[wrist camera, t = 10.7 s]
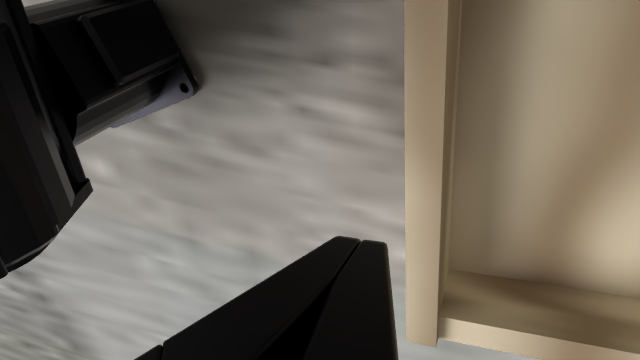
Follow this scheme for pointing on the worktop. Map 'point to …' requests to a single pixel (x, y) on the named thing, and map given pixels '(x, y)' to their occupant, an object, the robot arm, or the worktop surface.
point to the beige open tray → (523, 176)
